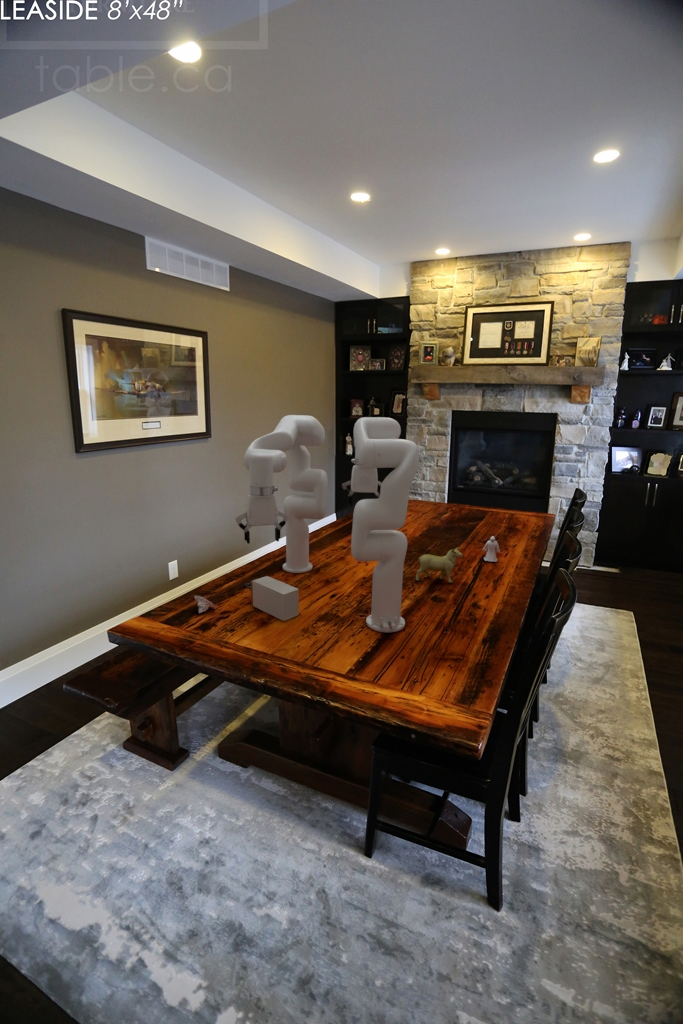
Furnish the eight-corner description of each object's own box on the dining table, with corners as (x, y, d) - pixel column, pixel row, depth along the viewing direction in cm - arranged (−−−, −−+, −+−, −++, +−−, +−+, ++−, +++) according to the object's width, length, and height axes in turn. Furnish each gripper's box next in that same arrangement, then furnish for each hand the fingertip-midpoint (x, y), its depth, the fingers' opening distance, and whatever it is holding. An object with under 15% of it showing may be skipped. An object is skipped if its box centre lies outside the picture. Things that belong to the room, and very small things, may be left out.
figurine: (481, 562, 222) (483, 536, 219) (482, 556, 230) (484, 531, 227) (499, 564, 220) (501, 538, 217) (499, 558, 228) (501, 533, 225)
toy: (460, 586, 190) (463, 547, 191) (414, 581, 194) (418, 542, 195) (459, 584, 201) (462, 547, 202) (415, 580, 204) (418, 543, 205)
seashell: (200, 621, 170) (185, 603, 169) (211, 610, 173) (196, 593, 173) (208, 616, 164) (192, 598, 163) (220, 606, 167) (204, 588, 166)
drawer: (241, 596, 179) (240, 577, 177) (253, 592, 183) (252, 573, 181) (279, 615, 165) (279, 594, 163) (291, 610, 169) (291, 589, 167)
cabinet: (252, 606, 174) (252, 580, 172) (267, 600, 179) (267, 575, 176) (284, 621, 163) (283, 594, 161) (298, 615, 168) (298, 588, 166)
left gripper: (285, 487, 168) (285, 536, 172) (233, 489, 163) (234, 540, 167) (290, 492, 161) (290, 542, 165) (236, 494, 156) (237, 546, 160)
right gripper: (342, 463, 188) (341, 507, 192) (388, 464, 187) (386, 508, 192) (342, 460, 195) (341, 503, 199) (386, 461, 195) (385, 504, 199)
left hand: (262, 541), depth 166 cm, fingers open, 9 cm apart
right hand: (363, 505), depth 195 cm, fingers open, 9 cm apart
